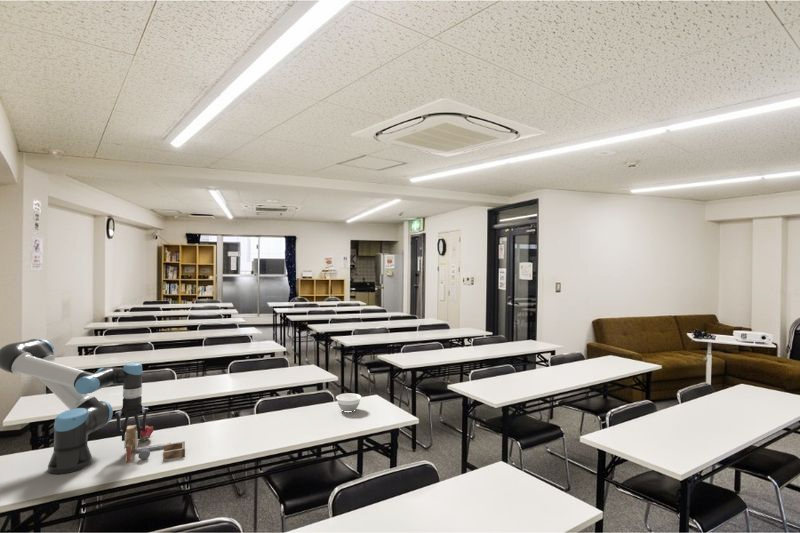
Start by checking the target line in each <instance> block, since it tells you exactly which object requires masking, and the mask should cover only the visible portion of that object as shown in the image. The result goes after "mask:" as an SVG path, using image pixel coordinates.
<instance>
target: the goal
mask: <svg viewBox="0 0 800 533" xmlns="http://www.w3.org/2000/svg"><path fill="white" fill-rule="evenodd" d="M185 442H186V440H185V441H178V442H170V443H171V444H165V445H164V449H163V455H162V458H163V459H162V461H167V460H172V459H179V458H184V457H186V443H185Z"/></svg>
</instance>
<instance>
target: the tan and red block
mask: <svg viewBox="0 0 800 533" xmlns="http://www.w3.org/2000/svg"><path fill="white" fill-rule="evenodd" d="M136 429H137V426H136V424H133V425H131V424H130V425H127V427H126V431H125V432H126V448H125V453H126V457H125V458H126V459H125V462H126V463H131V461H132V454H131V451H133V450H135V449H136V448H137V447H135V441H136Z"/></svg>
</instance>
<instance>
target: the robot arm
mask: <svg viewBox="0 0 800 533" xmlns="http://www.w3.org/2000/svg"><path fill="white" fill-rule="evenodd" d="M54 349H55V348H54V346H53V344H52V343H51V342H50V341H48V340H47V339H44V338H33V339H28V340H24V341H19V342H13V343H9V344H6V345H4V346H2V347H1V348H0V369H1V370H3V371H5V372H8V373H11V374H15V375H19V374H24V375H27V376H28V375H29V376H32V377H35V378H38V379H39V380H40V381H41V382H42V383H43V384H44V385H45V386H46V387H47V389H49V390H50V391H51V392H52V393H53V394H54V396H56V397H57V398H58V399H59V400H60V401H61V402H62V403H63V404H64V405H65V406H66V407H67V408H68V409H69V410H68V409H67V410H65V411H63V412H61V413H59V414H58V415H56V417H55V419H54V424H53V452H52V454H51V457H50V460H49V462H48V464H47V472H48V473H49V474H52V475H64V474H69V473H74V472H76V471H79V470H82V469H84V468H87V467H89V466H90V465H91V464H92V462H93V456H92V452H91V451H90V448H89V446H88V439H89V435H90V434H92V433H94V432H95V431H97V430H100V429H102V428H103V427H104V426H106V425H107V424H109V423H110V421H112V418H113V414H114V416H115V418H116V434H118V435H121V442H123V443H124V449H125V450H126V431H127V426H128V421H129V418H130V417H131V418H132V417H134V421H135V425H136V429H137V431H136V441H135V447H136V448H138V444H139V440H140V437H141V431H142V430H145V425H147V415H148V414H147V413H148V411H149V407H143V404H142V399H143V398H142V394H143V393H142V392H143V382H142V381H143V372H144V371H143V365H142V363H139V362H128V363H125V364H124V365H123V367H109V366H107V367H101V368H99V369H97V371H95V372H94V373H93V372H89V371H85V370H81V369H78V368H75V367H73V366H72V367H71V366H68V365H64V364H61V363H58V362H56V361H55V360H56V355H55V350H54ZM111 385H122V397H123V398H122V407H121V409H120V410H118V411H115V413H114V411H113V406H112V405H111V403H109V402H108V401H105V400H98V398H97V397H96V396H89V394H92V393H94V392H96V391H99V390H100V389H101V390H102V389H103V388H105V387H108V386H111ZM140 412H142V413H143V415H142V425H141V422H140V418H139V414H140ZM122 414H123V415H124V416H125V418H124V422H123V427H122V426H121V425H122V424H121V422H122V421H121V416H122Z"/></svg>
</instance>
